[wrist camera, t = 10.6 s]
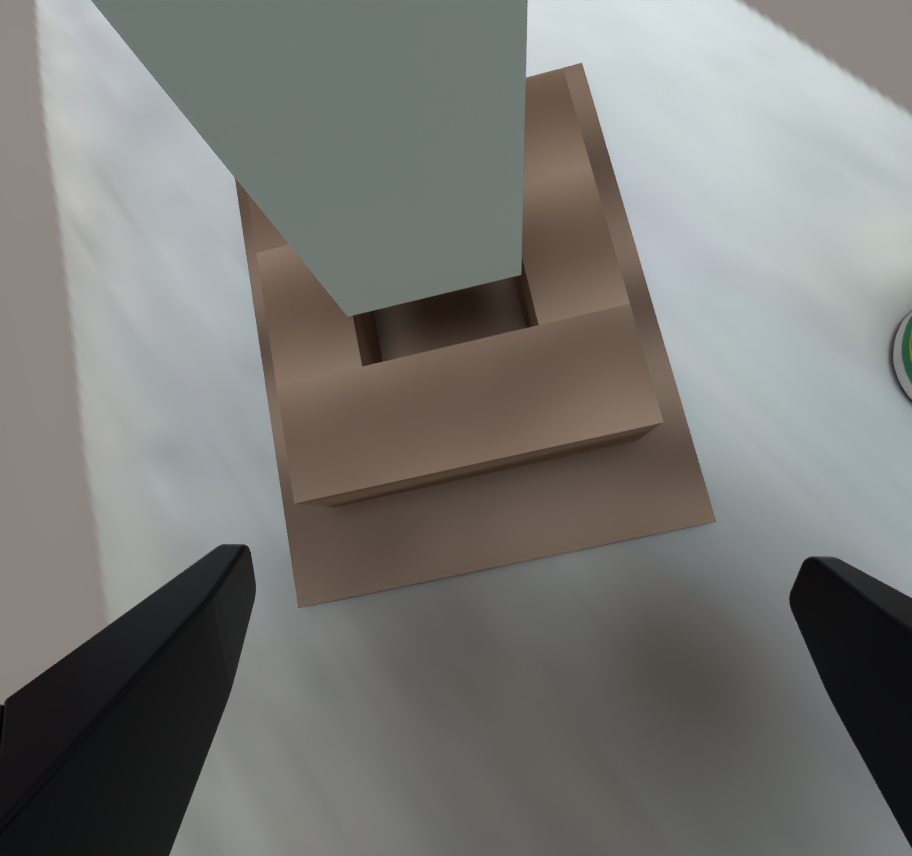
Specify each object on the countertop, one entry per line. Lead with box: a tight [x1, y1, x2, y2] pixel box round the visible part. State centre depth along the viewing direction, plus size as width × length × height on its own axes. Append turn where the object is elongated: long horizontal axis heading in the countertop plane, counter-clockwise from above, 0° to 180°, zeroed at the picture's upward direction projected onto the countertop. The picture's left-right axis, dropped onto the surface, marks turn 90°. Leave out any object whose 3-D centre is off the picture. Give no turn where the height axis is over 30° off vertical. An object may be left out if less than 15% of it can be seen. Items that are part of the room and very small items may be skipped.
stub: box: [92, 0, 527, 317], centre depth 10 cm, size 4×5×12 cm
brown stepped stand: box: [235, 63, 716, 608], centre depth 21 cm, size 20×16×5 cm
